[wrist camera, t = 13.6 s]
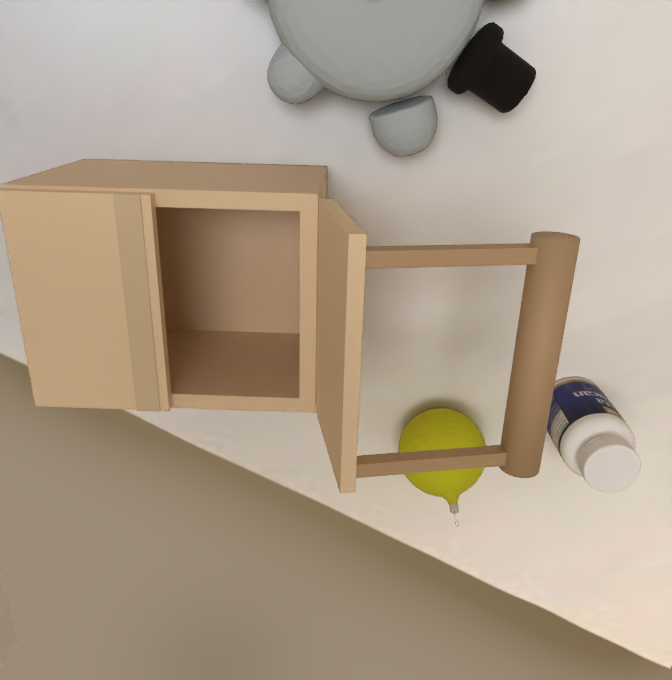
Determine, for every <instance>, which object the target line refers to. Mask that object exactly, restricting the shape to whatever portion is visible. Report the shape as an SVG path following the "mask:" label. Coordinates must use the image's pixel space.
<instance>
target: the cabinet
mask: <svg viewBox="0 0 672 680" xmlns="http://www.w3.org/2000/svg"><path fill="white" fill-rule="evenodd" d="M326 183H327V166H309V165H275V164H241V163H207V162H173V161H139V160H105V159H83V160H79V161H76V162H73V163H69V164H66V165H63V166H59V167H56V168H53V169H50V170H46V171H43V172H40V173H36V174H33V175H30V176H27V177H23V178H20V179H17V180H13V181H10V182H7V183H4V184H1V189H0V213H1V219H2V224H3V230H4V235H5V241H6V247H7V252H8V258H9V263H10V269H11V274H12V280H13V285H14V291H15V296H16V302H17V307H18V313H19V319H20V324H21V330H22V335H23V341H24V346H25V352H26V357H27V363H28V368H29V374H30V379H31V384H32V390H33V396H34V401H35V406H48V407H76V408H77V407H78V408H103V409H104V408H105V409H131V410H137V411H169V410H170V408H199V409H226V410H254V411H282V412H309V413H315V407H316V397H317V329H318V261H319V199H326Z"/></svg>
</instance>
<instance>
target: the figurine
mask: <svg viewBox="0 0 672 680" xmlns="http://www.w3.org/2000/svg"><path fill="white" fill-rule="evenodd" d="M267 1H268V4H269V9H270V13H271V18H272V21H273V23H274V26H275V29H276V32H277V34H278V36H279V38H280V40H281V42H282V44H281V45H280V47H279V48H278V49H277V51H276V52H275V54H274V56H273V58H272V60H271V62H270V64H269V68H268V71H267V80H268V83H269V85H270V87H271V90H272V91H273V92H274V94H275V95H276V96H277V97H279V98H280V99H281V100H283V101H285V102H288V103H291V104H299V103H303V102H305V101H307V100H309V99H311V98H313V97H314V96H315V95H316V94H317V93H318V92H320V91H321V90H322V89H323V88H326V89H328V90H330V91H332V92H334V93H336V94H339V95H341V96H344V97H347V98H351V99H354V100H360V101H370V102H379V101H388V100H394V99H399V98H402V97H405V96H408V95H411V94H413V93H415V92H417V91H419V90H421V89H423V88H424V87H426V86H427V85H429V84H430V83H432V82H433V81H435V80H436V79H437V78H438V77H439V76H440V75H442V74H443V73H444V72H445V71H446V70H447V69H448V68H449V67H450V66H451V64H452V63H453V62H454V61H455V59H456V58H457V57H458V56H459V54H460V53H461V52H462V51H463V52H462V53H461V55H460V56H459V58H458V60H457V61H456V63H455V65H454V67H453V69H452V71H451V74H450V76H449V78H448V88H449V89H451V90H452V91H453V92H455V93H456V94H461V93H464V92H466V91H467V90H468V89H469V90H470V91H472V92H473V93H474V94H476V95H477V96H479V97H480V98H481V99H483V100H484V101H486V102H487V103H488V104H490V105H491V106H493V107H494V108H496V109H497V110H498V111H500V112H501V113H506V112H509V111H511V110H512V109H513V108H515V107H516V106H517V105H518V104H519V102H520V101H521V100H522V99H523V98H524V96H525V95H526V94H527V93H528V91H529V89H530V88H531V86H532V84H533V82H534V79H535V76H536V71H535V68H533V67H532V66H531V65H530V64H528V63H527V62H526V61H524V60H523V59H522V58H521V57H519V56H518V55H517V54H515V53H514V52H513V51H512V50H510V49H509V48H508V47H506V46H505V45H504V44H503V43H502V42H501V41H502V39H503V34H504V32H503V29H502V28H501V27H500V26H498V25H497V24H496V23H494V22H493V23H488V24H487V25H485V26H484V27H482V28H481V29H480V30H479V31H478V32H477V33H476V35H475V36H474V37H473V38H472V39H471V40H470V41H469V43H468V44H467V42H468V40H469V39H470V37H471V35H472V33H473V31H474V29H475V26H476V24H477V21H478V19H479V16H480V13H481V9H482V6H483V2H484V0H267ZM491 1H500V0H491ZM466 44H467V46H466V47H465V45H466ZM464 47H465V49H464ZM463 49H464V50H463ZM369 119H370V123H371V127H372V130H373V134H374V137H375V139H376V140H377V142H378V143H379V144H380V146H381V147H382V148H383V149H384V150H385V151H387V152H389V153H390V154H392V155H395V156H409V155H413V154H415V153H418V152H421V151H422V150H424V149H425V148H426V147H428V145H429V144H430V143H431V141H432V139H433V137H434V134H435V132H436V128H437V113H436V108H435V104H434V99H433V97H432V96H419V97H415V98H411V99H407V100H404V101H400V102H397V103H393V104H391V105H388V106H385V107H383V108H380V109H378V110H376V111H375V112H373V113H371V115H370V116H369Z"/></svg>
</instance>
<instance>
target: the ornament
mask: <svg viewBox="0 0 672 680" xmlns="http://www.w3.org/2000/svg"><path fill="white" fill-rule="evenodd" d="M480 446H486V445H485V441H484V438H483V435H482V433H481V432H480V430H479V428H478V427H477V425H476V424H475V423H474V422H473V421H472V420H471V419H469V418H468V417H467V416H466V415H464V414H462V413H460V412H457V411H455V410H452V409H446V408H436V409H431V410H427V411H425V412H423V413H421V414H418V415H417V416H416V417H414V418H413V419H412V420H411V421H410V422H409V423H408V425H407V426H406V427H405V429H404V431H403V433H402V435H401V438H400V441H399V447H398V450H399V453H401V452H414V451H427V450H440V449H454V448H467V447H480ZM483 470H484V467H481V468H469V469H457V470H445V471H433V472H421V473H409V474H405V475H406V477H407V478H408V479H409V480H410V482H411V483H412V484H413V485H414V486H416V487H417V488H418V489H420V490H421V491H423V492H425V493H427V494H430V495H434V496H439V497H443V498H444V499H446V500H447V502H448V503H449V505H450V512H451V513H453V514H455V513H458V512H459V510H458V504H457V501H458V497H459V495H460V494H461V493H463V492H464V491H466V490H468V489H469V488H470V487H471V486H473V485H474V484H475V483H476V481H477V480H478V478H479V477H480V475H481V474H482V472H483ZM455 523H456V522H455ZM458 526H459V525H458Z"/></svg>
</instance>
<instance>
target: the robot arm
mask: <svg viewBox="0 0 672 680" xmlns="http://www.w3.org/2000/svg"><path fill="white" fill-rule="evenodd" d="M16 642H17V639H16V634H15V630H14V626H13V621H12V617H11V613H10V608H9V604H8V600H7V596H6V591H5V587H4V582H3V578H2V574H1V569H0V669H1V667H2V665H3V664H4V662H5V660H6V659H7V657H8V655H9V654H10V652H11V650H12V649H13V647H14V645H15V644H16ZM671 671H672V666H671Z"/></svg>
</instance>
